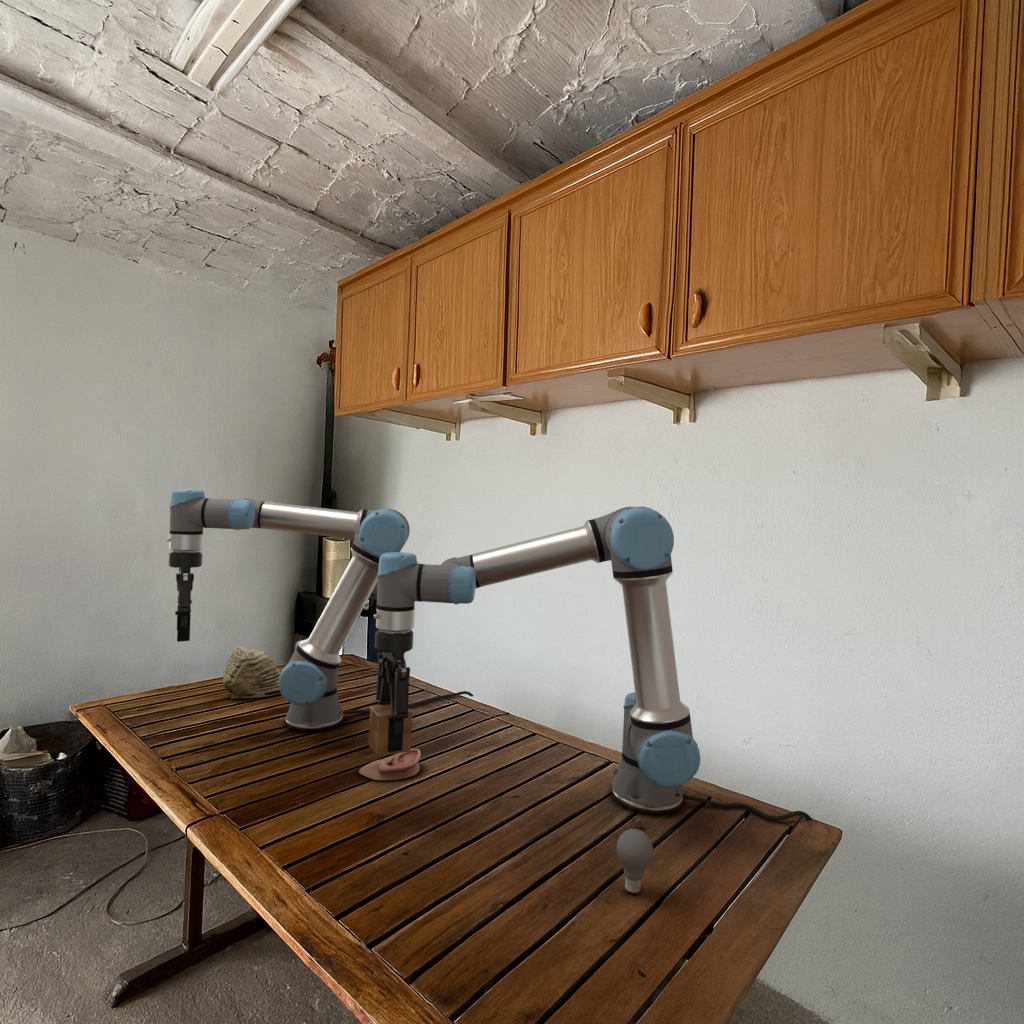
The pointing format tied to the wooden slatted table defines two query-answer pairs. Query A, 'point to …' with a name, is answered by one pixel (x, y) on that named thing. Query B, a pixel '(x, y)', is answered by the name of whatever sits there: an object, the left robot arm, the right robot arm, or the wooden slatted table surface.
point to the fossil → (251, 674)
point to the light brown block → (386, 730)
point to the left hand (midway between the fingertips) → (182, 635)
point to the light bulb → (634, 857)
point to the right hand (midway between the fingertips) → (389, 744)
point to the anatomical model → (393, 766)
